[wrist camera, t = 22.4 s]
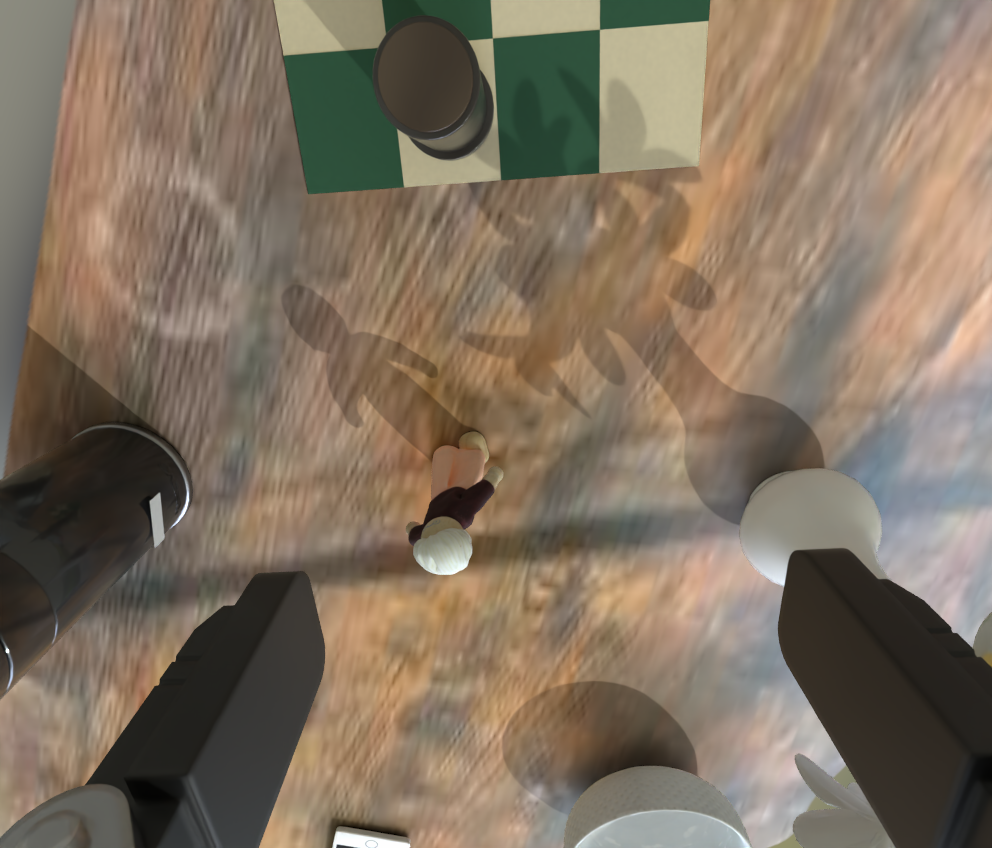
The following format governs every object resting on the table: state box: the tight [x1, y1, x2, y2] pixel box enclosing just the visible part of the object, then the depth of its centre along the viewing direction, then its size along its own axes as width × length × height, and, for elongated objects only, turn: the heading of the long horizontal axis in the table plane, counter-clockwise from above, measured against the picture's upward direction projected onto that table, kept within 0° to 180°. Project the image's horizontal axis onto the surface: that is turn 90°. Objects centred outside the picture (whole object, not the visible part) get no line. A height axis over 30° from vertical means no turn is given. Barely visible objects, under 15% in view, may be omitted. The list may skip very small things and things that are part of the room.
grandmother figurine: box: [406, 432, 503, 575], centre depth 36 cm, size 8×4×13 cm, turn 138°
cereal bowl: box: [564, 766, 752, 848], centre depth 53 cm, size 17×17×7 cm
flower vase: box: [739, 468, 992, 848], centre depth 32 cm, size 13×18×25 cm
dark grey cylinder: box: [372, 15, 494, 161], centre depth 28 cm, size 5×5×10 cm
